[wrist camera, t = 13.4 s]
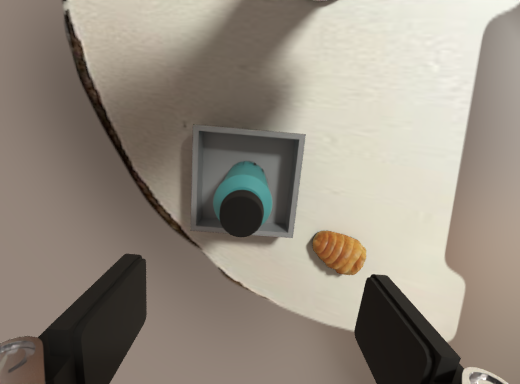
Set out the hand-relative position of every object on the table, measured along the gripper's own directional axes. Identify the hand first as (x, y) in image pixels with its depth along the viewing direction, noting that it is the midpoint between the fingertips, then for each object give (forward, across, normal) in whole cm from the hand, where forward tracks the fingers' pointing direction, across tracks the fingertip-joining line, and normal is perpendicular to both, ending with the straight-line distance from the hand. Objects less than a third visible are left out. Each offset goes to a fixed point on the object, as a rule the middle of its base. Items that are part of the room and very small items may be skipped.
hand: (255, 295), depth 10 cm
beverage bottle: (+32, +1, +1) cm, 32 cm away
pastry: (+33, -16, +13) cm, 39 cm away
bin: (+32, +1, +2) cm, 32 cm away
